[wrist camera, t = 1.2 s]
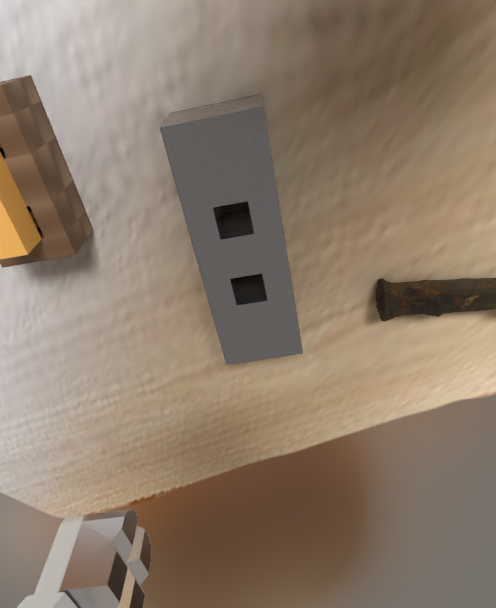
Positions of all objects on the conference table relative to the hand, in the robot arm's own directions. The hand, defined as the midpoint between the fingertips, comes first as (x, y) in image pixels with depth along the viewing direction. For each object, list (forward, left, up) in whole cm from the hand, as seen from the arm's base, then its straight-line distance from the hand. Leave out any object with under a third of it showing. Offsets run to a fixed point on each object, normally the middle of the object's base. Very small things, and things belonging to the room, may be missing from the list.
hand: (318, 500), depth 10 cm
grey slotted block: (+9, -4, -36) cm, 38 cm away
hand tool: (+19, +18, -37) cm, 45 cm away
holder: (-1, -22, -36) cm, 42 cm away
